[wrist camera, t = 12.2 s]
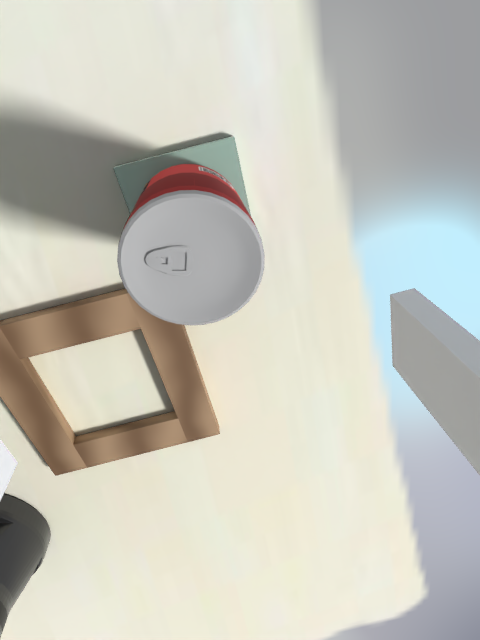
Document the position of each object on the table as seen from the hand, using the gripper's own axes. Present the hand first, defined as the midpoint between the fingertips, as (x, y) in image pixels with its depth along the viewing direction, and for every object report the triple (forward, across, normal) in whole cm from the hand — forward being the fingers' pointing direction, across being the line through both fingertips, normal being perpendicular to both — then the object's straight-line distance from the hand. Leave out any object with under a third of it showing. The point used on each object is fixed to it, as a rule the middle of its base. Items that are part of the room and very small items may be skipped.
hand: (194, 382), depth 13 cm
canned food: (+21, 0, 0) cm, 21 cm away
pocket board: (+22, -12, -14) cm, 29 cm away
